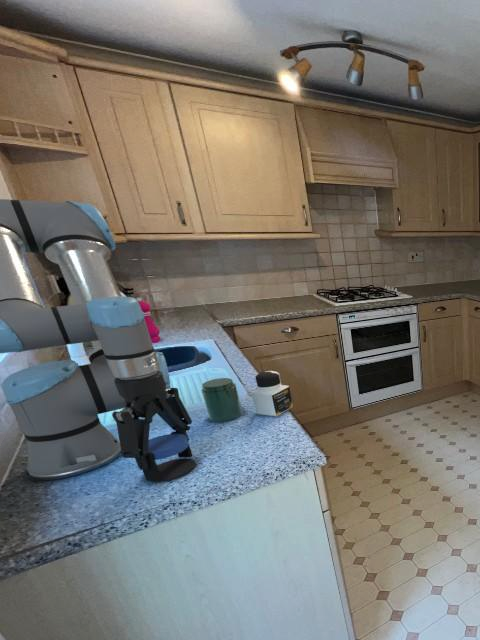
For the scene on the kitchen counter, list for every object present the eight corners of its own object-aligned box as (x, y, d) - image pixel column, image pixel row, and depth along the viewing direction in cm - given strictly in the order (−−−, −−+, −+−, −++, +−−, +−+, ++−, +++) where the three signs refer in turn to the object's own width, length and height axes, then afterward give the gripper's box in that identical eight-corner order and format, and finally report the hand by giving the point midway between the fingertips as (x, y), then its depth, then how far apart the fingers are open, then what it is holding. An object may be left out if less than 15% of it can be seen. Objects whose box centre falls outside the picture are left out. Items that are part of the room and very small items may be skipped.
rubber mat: (134, 482, 87) (133, 480, 87) (167, 459, 96) (167, 457, 96) (176, 483, 88) (175, 481, 87) (205, 460, 96) (205, 458, 96)
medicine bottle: (276, 416, 117) (268, 378, 113) (255, 414, 119) (246, 376, 114) (293, 406, 124) (286, 370, 120) (273, 404, 125) (265, 368, 121)
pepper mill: (162, 338, 191) (148, 295, 183) (162, 341, 185) (148, 298, 178) (142, 340, 186) (127, 297, 179) (141, 344, 181) (126, 299, 174)
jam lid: (152, 442, 93) (150, 435, 92) (195, 438, 95) (193, 431, 94) (130, 462, 85) (128, 455, 84) (177, 457, 87) (175, 450, 86)
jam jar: (204, 423, 113) (194, 388, 109) (216, 411, 120) (207, 378, 116) (237, 420, 115) (228, 386, 111) (246, 408, 122) (238, 376, 118)
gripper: (108, 394, 73) (147, 497, 82) (193, 358, 93) (218, 443, 101) (66, 394, 73) (110, 496, 82) (161, 357, 93) (188, 443, 101)
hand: (170, 467), depth 91 cm, fingers closed on jam lid, 8 cm apart
